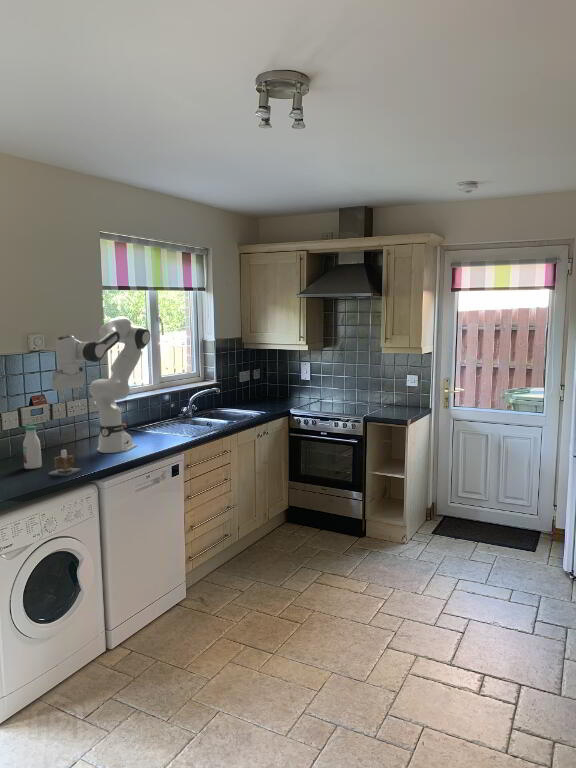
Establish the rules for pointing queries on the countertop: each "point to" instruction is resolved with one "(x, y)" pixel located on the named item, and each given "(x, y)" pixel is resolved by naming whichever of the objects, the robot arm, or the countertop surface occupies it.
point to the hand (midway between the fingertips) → (69, 397)
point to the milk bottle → (31, 449)
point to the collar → (64, 462)
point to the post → (64, 471)
